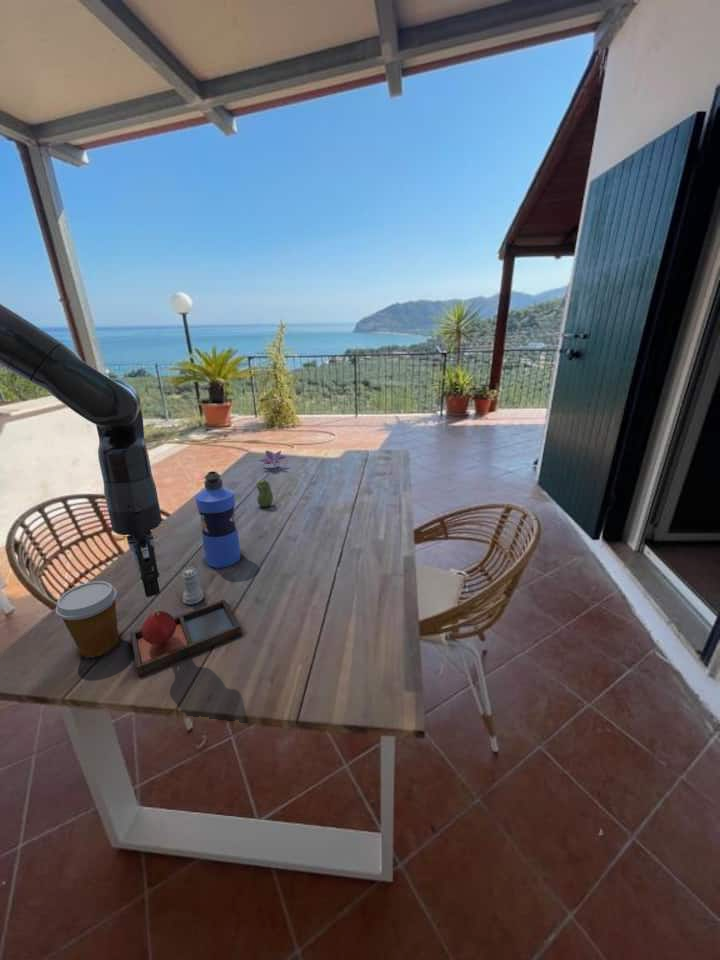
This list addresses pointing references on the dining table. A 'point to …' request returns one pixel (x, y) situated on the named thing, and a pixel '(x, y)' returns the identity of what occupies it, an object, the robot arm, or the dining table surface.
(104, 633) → the disposable coffee cup
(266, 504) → the pear
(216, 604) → the tray
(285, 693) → the dining table surface
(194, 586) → the rook chess piece
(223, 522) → the water bottle
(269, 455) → the lily
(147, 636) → the pomegranate
